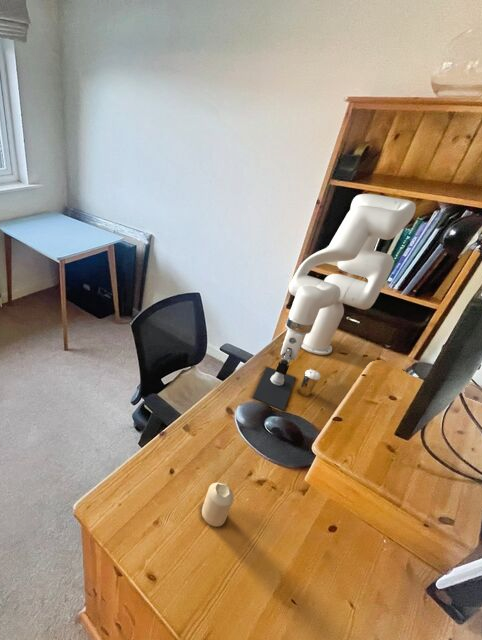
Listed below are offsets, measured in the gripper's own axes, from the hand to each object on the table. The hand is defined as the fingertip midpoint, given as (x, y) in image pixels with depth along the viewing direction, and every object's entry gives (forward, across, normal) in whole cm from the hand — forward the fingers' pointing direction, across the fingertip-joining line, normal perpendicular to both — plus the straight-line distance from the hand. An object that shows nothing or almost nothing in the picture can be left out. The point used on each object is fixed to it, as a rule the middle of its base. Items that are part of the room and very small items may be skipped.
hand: (283, 365), depth 119 cm
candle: (+6, -60, +2) cm, 60 cm away
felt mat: (+8, -4, 0) cm, 9 cm away
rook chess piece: (+7, -1, 0) cm, 7 cm away
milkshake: (+8, 0, -9) cm, 12 cm away
